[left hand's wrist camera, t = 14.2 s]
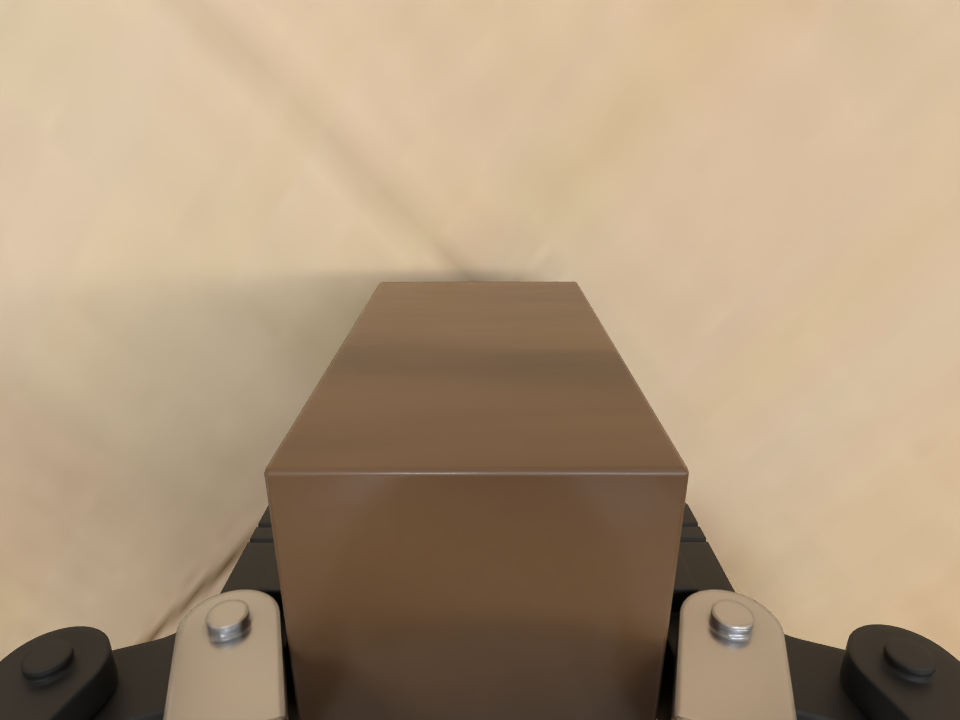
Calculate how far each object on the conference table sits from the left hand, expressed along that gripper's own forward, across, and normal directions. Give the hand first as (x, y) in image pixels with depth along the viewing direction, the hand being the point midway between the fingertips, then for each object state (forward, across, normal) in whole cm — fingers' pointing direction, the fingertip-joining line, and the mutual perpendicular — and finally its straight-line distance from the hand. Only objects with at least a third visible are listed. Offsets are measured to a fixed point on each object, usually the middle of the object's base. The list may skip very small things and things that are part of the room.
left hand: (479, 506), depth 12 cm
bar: (+4, 0, -8) cm, 9 cm away
